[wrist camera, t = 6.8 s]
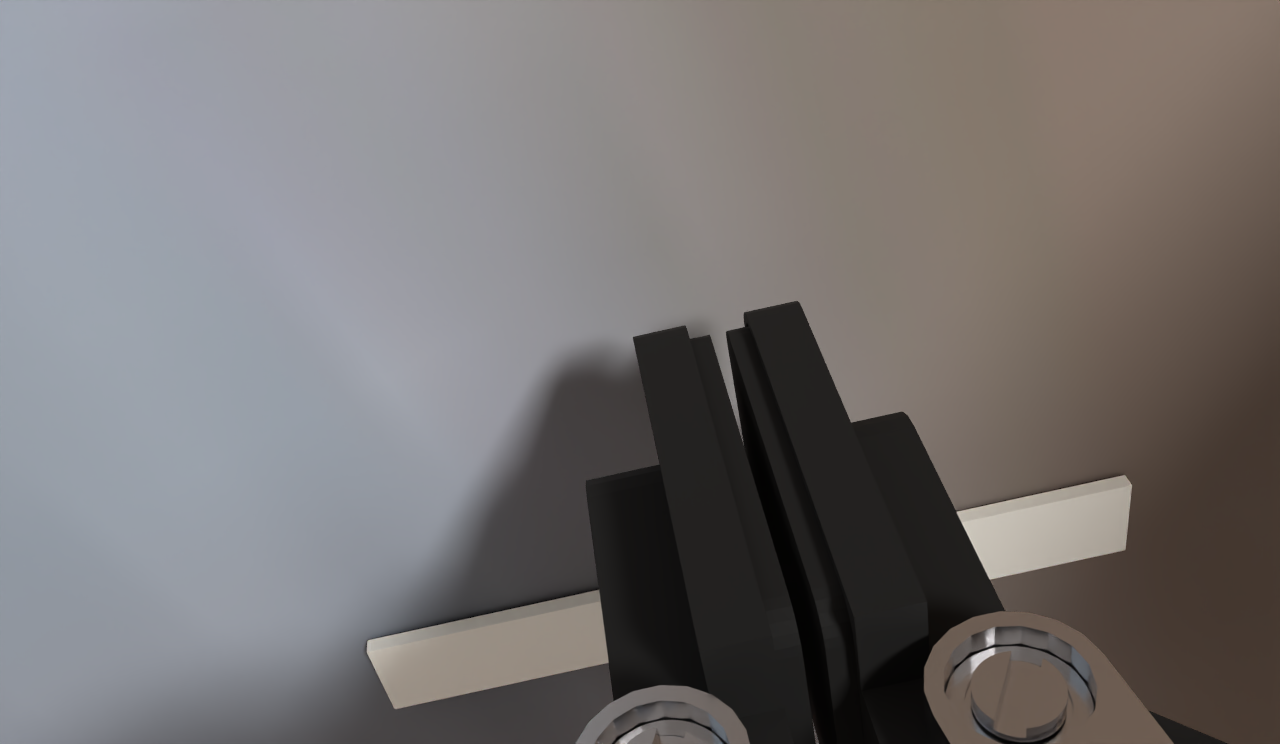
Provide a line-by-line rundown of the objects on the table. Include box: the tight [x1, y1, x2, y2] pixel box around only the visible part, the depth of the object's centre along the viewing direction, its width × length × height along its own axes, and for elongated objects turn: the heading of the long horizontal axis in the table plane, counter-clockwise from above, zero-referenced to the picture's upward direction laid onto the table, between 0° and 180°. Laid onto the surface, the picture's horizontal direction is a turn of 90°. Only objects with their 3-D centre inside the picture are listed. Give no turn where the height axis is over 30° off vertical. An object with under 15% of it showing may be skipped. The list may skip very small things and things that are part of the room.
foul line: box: [367, 475, 1132, 709], centre depth 16 cm, size 10×1×1 cm, turn 100°
